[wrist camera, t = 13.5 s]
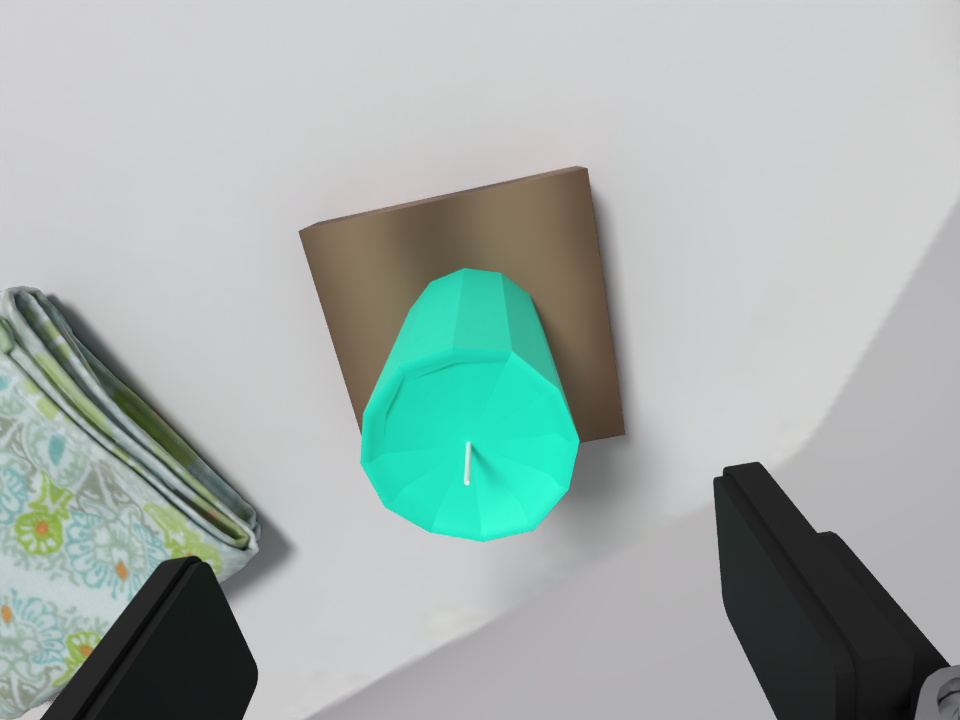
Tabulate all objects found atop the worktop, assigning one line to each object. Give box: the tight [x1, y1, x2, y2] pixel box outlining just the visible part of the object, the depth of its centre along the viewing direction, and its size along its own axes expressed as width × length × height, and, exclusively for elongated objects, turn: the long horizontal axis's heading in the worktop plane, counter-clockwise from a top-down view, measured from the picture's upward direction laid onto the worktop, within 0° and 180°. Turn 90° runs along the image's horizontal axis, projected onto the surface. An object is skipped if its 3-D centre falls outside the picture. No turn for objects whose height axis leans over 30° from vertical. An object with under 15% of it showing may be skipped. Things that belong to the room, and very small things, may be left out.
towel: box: [0, 286, 261, 720], centre depth 30 cm, size 18×21×5 cm
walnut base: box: [299, 166, 625, 443], centre depth 27 cm, size 12×12×3 cm
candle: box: [360, 268, 580, 542], centre depth 20 cm, size 6×6×12 cm
